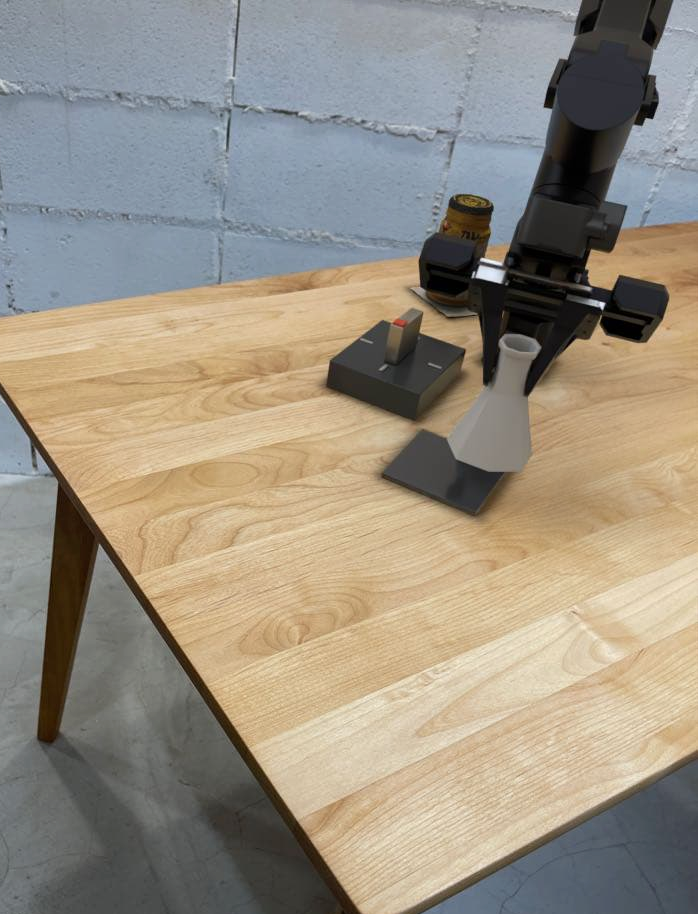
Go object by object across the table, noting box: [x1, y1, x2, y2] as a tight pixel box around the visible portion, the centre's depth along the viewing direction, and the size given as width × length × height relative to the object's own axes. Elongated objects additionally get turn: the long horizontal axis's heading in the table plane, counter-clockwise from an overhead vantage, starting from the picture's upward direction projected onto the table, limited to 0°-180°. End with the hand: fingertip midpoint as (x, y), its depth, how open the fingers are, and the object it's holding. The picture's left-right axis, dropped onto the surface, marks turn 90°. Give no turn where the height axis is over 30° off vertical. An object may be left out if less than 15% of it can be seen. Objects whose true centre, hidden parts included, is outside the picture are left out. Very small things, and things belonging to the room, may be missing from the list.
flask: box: [446, 334, 541, 473], centre depth 68 cm, size 7×7×10 cm
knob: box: [384, 307, 425, 365], centre depth 84 cm, size 5×1×4 cm, turn 149°
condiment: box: [410, 193, 495, 318], centre depth 101 cm, size 7×8×12 cm
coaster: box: [380, 428, 508, 517], centre depth 76 cm, size 9×9×1 cm
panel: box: [325, 319, 467, 421], centre depth 87 cm, size 12×10×3 cm
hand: (505, 389), depth 66 cm, fingers closed on flask, 3 cm apart
